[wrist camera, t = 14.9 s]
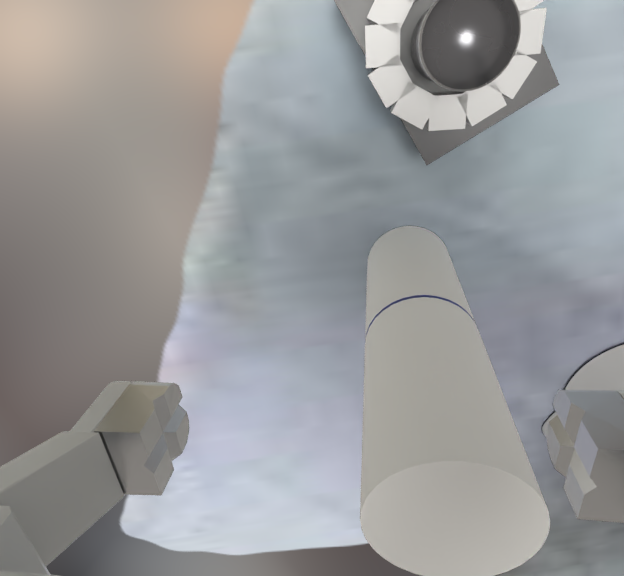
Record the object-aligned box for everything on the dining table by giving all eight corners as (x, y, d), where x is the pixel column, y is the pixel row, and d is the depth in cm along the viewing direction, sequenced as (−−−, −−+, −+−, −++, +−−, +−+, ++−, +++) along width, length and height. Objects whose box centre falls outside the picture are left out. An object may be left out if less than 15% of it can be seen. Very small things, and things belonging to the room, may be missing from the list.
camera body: (538, 77, 31) (579, 82, 25) (415, 154, 35) (424, 175, 29) (462, -98, 28) (488, -143, 21) (332, 8, 31) (322, -4, 25)
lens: (490, -6, 26) (528, -27, 19) (482, 81, 28) (514, 88, 21) (409, 2, 26) (420, -15, 20) (408, 87, 28) (417, 95, 22)
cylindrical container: (444, 218, 37) (550, 454, 15) (452, 292, 40) (550, 579, 18) (360, 233, 38) (344, 467, 16) (374, 304, 42) (376, 580, 20)
